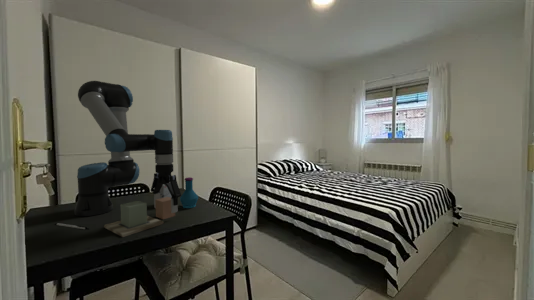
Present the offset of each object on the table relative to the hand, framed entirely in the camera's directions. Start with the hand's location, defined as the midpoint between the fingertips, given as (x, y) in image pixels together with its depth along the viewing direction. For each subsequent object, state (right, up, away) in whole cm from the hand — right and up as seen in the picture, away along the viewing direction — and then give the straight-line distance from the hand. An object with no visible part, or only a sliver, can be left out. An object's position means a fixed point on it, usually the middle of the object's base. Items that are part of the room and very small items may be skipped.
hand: (165, 209), depth 108 cm
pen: (-33, -4, -12) cm, 36 cm away
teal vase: (+6, -2, +16) cm, 17 cm away
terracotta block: (0, -3, 0) cm, 3 cm away
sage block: (-8, -3, -11) cm, 14 cm away
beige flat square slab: (-8, -4, -11) cm, 14 cm away
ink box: (-8, -2, +18) cm, 20 cm away
